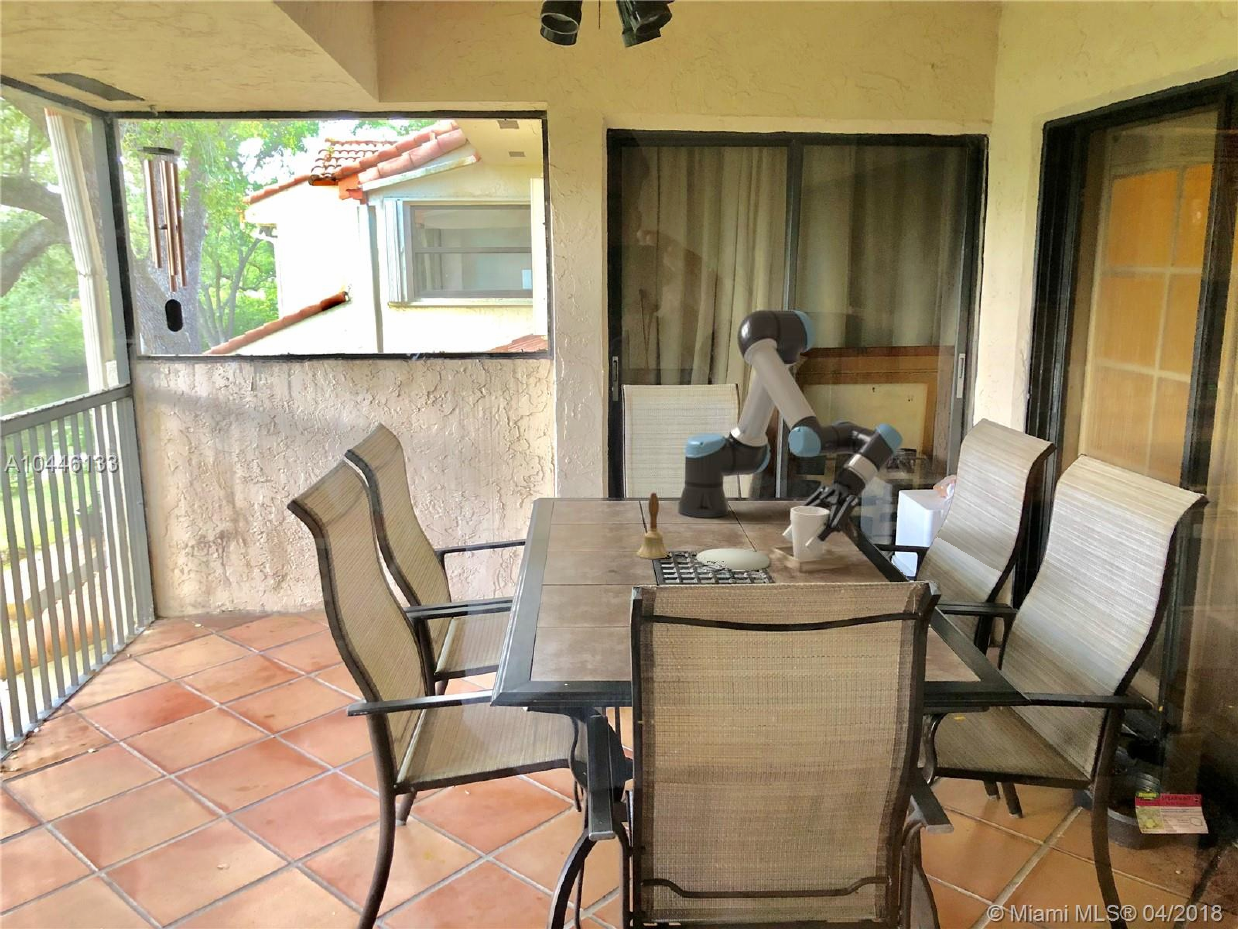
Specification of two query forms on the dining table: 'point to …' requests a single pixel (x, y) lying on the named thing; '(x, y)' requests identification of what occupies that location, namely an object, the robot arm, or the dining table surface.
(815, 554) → the foam cup
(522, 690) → the dining table surface
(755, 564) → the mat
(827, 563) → the cup socket
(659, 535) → the hand bell
